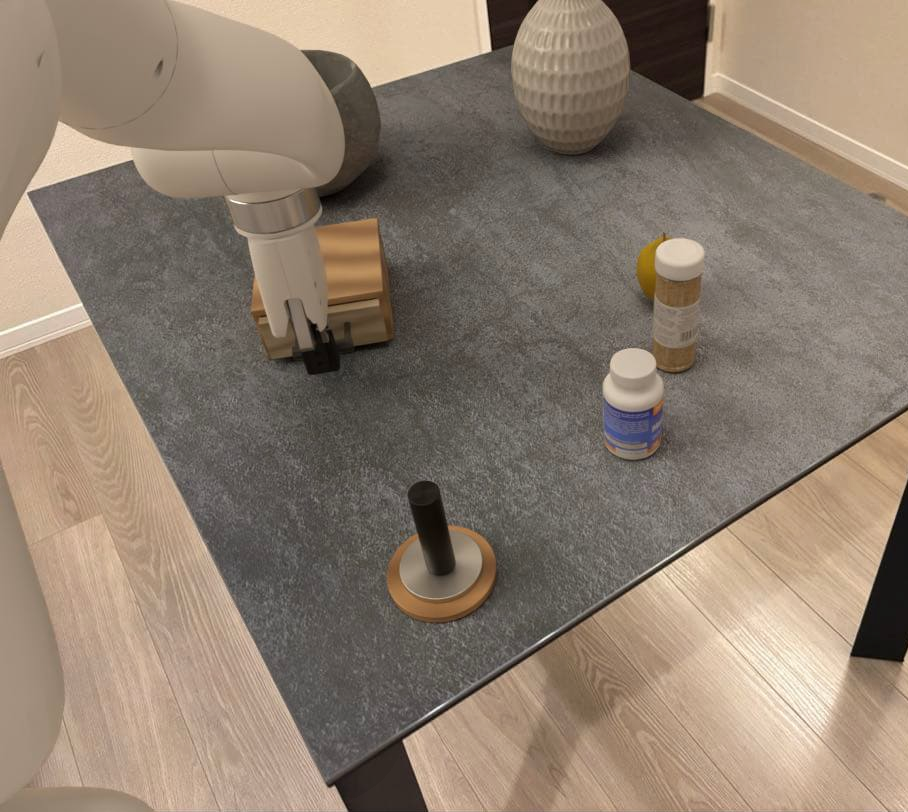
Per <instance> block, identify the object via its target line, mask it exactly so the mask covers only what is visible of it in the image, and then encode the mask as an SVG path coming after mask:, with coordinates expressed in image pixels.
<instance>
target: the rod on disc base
mask: <svg viewBox="0 0 908 812" xmlns="http://www.w3.org/2000/svg"><path fill="white" fill-rule="evenodd" d="M407 499H408V503H409V507H410V511H411V515H412V519H413V522H414V527H415V530H416V534H418V537H419V538H418V539H417V540H415V541H414V542H413V543H412V544H411V545H410V546H409V547H408V548H407V549H406V551H405V552H404V554H403V556H402V559H401V562H400V577H401V580H402V583H403V585H404V587H405V589H406V590H407V591H408V592H409V593H410V594H411V595H412V596H414V597H415V598H417V599H419V600H421V601H424V602H428V603H446V602H450V601H453V600H456V599H458V598H460V597H462V596H464V595H465V594H467V593H468V592H469V591H470V590H471V589H472V588H473V587H474V586H475V585H476V584H477V582H478V580H479V579H480V577H481V574H482V570H483V557H482V553H481V550H480V548H479V546H478V545H477V543H476V542H475V541H474V540H473V539H472V538H471V537H469V536H468V535H466V534H464V533H461V532H458V531H453V530H449V529H448V519H447V515H446V512H445V507H444V502H443V498H442V493H441V489H440V487H439V485H438V484H437V483H435V482H434V481H431V480H420V481H418V482H416V483H413V484H412V485H411V486H410V488H409V489H408V491H407Z"/></svg>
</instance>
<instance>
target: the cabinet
mask: <svg viewBox="0 0 908 812" xmlns="http://www.w3.org/2000/svg"><path fill="white" fill-rule="evenodd" d="M315 229H316V233H317V236H318V240H319V243H320V247H321V251H322V255H323V259H324V263H325V268H326V273H327V281H328V305H334V304H340V303H346V302H353V301H359V300H365V299H372V298H377V299H379V301H380V305H381V309H382V313H383V318H384V322H385V326H386V330H387V334H388V341H391V340H395V329H394V320H393V308H392V297H391V286H390V276H389V265H388V260H387V256H386V250H385V246H384V242H383V238H382V233H381V230H380V229H381V228H380V225H379V220H378V218H377V217H373V218H367V219H360V220H354V221H346V222H340V223H334V224H327V225H319V226H315ZM250 313H251V317H252V318H253V321H254V324H255V327H256V329H257V332H258V335H259V337H260V339H261V342H262V344H263V347H264V350H265V353H266V355H267V358H268V360H272V359H271V356H270V354H269V351H268V348H267V346H266V343H265V340H264V338H263V335H262V333H261V330H260V327H259V325H258V324H259V317H265V316H267V315H266V311H265V308H264V304H263V301H262V297H261V294H260V291H259V287H258V284H257V280H256V276H255V275H254V278H253V286H252V295H251V304H250Z"/></svg>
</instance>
